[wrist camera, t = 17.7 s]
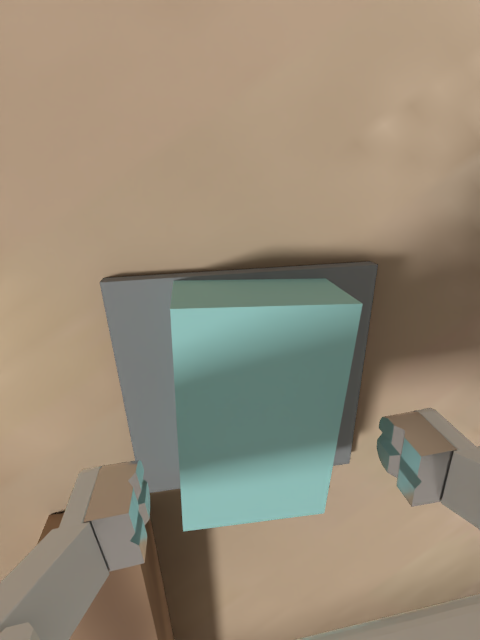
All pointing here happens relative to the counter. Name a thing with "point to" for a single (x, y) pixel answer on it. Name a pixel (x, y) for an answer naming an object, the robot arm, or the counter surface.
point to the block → (259, 395)
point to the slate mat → (157, 355)
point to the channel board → (126, 600)
